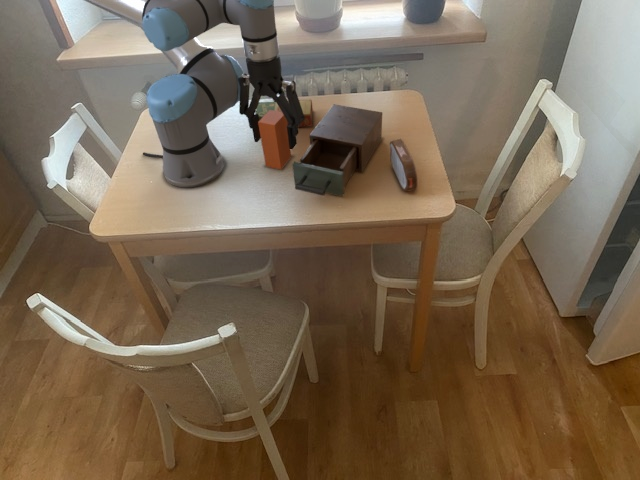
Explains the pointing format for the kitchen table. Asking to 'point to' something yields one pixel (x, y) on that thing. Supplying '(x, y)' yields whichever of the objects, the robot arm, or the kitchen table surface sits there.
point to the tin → (403, 165)
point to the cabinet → (351, 130)
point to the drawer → (325, 167)
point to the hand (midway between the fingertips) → (275, 142)
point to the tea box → (274, 139)
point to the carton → (266, 106)
